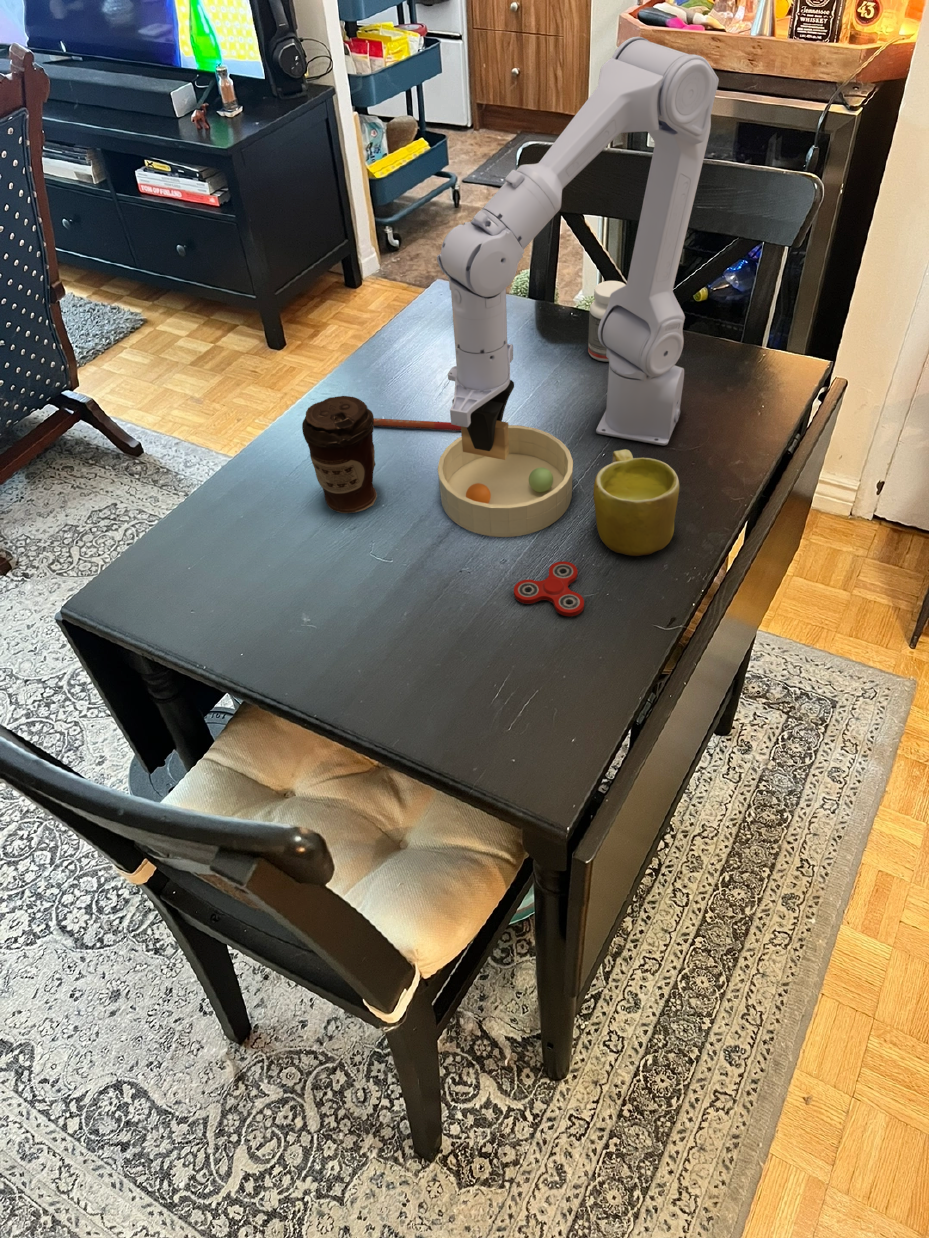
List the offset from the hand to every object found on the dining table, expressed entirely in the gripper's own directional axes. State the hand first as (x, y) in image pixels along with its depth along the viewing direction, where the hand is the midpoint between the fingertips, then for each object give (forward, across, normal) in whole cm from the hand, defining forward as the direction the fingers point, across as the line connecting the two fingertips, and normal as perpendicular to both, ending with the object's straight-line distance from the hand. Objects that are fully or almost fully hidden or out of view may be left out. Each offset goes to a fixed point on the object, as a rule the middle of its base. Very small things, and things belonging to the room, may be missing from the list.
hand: (486, 443), depth 109 cm
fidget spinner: (+7, +14, +13) cm, 21 cm away
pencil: (+7, -9, -16) cm, 19 cm away
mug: (+7, +1, +18) cm, 20 cm away
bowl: (+7, 0, +2) cm, 7 cm away
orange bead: (+5, +4, 0) cm, 6 cm away
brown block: (+1, 0, 0) cm, 1 cm away
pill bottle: (+7, -35, +5) cm, 36 cm away
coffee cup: (+7, +7, -16) cm, 19 cm away
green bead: (+5, -1, +6) cm, 8 cm away
